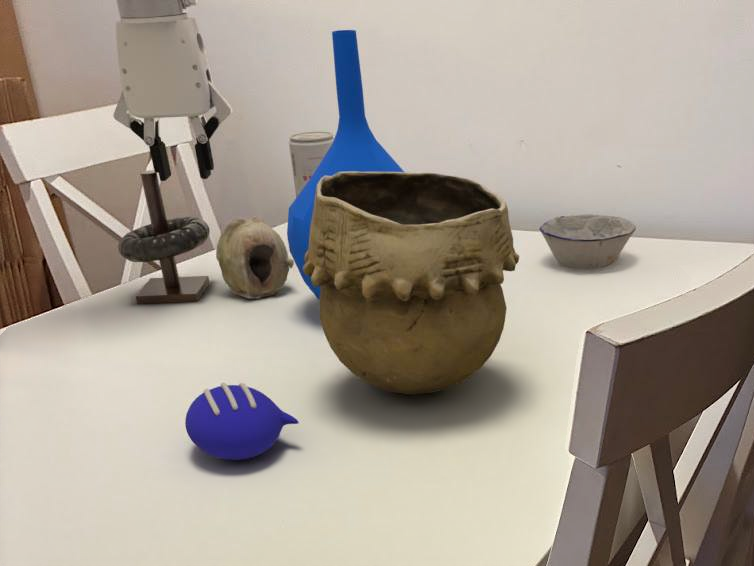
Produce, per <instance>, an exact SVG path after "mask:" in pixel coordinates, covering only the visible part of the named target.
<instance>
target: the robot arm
mask: <svg viewBox="0 0 754 566" xmlns="http://www.w3.org/2000/svg"><path fill="white" fill-rule="evenodd" d="M198 4H199V3H198V0H116V5H117V9H118V14H119V17H120V20H119V21H117V22H115V34H116V35H115V36H116V49H117V58H118V67H119V74H120V80H121V87H122V91H121V94H120V97H119V99H118V102H117V105H116V107H115V109H114V112H113V119H114V120H115V121H116V122H118V123H120V124H121V125H123V126H125V127H126V128H128V129H130V130H131V131H132V132H133V133H134V134H135V135H136V136H138V137H139V139H141V140H142V141H143V142H144V144H145V145H146V146H148V148H149V153H150V157H151V158H150V159H151V162H152V166H153V171H155V173H157V174H158V178H159V181H160V182H166V181H167V180H168V179H169V178H170V177H171V176H172V170H171V165H170V161H169V156H168V151H167V147H166V146H167V145H166V142H164V140H162V137H161V136H160V119H165V118H185V117H188V119H189V121H190V124H191V126H192V129H193V132H194V134H195V141H196V143H195V144H194V152H195V157H196V161H197V166H198V167H197V168H198V171H199V177H200V179H202V180H207V179H208V178H209V177H211V175H212V171H214V169H215V164H214V158H213V153H212V152H213V151H212V147H211V142H210V139H211V138H212V136H213V135H214V134H215V132H216V131H217V129H218V128H219V126H220V125H221V124H222V123H223V122H224V121H225V120H226V119H228V117H229V116H231V114H232V113H233V107H232V105H231V104H230V103H229V102H228V101H227V99H226V98H225V97H224V96H223V95H222V93H221V92H220V91H219V90H218V89H217V87H216V86H215V84H214V80H213V75H212V71H211V68H210V62H209V59H208V55H207V51H206V47H205V43H204V39H203V35H202V34H201V30H200V26H199V24H198V21H197V19H196V17H195V16H189V15H188V13H189V9H190V8H192V6H198ZM213 108H216V111H215V112H214V113H213V115H212V116H211V117H209V119H208V120H207V119H206V115H205V114H207V113H208V112H209V111H210V110H212V109H213ZM138 118H139V119H138ZM141 119H143V121H142V120H141Z"/></svg>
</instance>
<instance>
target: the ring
mask: <svg viewBox="0 0 754 566" xmlns="http://www.w3.org/2000/svg"><path fill="white" fill-rule="evenodd" d="M167 224H168V228H169V233H165V234H162V235H158V236H154V234H153V230H152V225H151V223H149V224H146V225H143V226H140V227H138V228H136V229H134V230H131V231H129V232H127V233H126V234H125V235H124V236H123V237H121V239H120V240H119V241H118V244H117V249H118V252H119V254H120V255H121V256H122V257H123V258H124V259H126V260H127V261H128V262H131V263H150V262H157V261H159V260H162V259H167V258H171V257H177V256H180V255H183V254H186V253H189V252H191V251H193V250H194V249H197V248H199V247H202V245H203V244H204V243H205V242H206V241H207V240H208V238H209V237H210V233H211V231H210V225H208V222H206V221H205V220H203V219H201V218H199V217H197V216H182V217H180V216H179V217H175V218H174V217H173V218H168V219H167Z"/></svg>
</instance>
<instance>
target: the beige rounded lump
mask: <svg viewBox="0 0 754 566" xmlns="http://www.w3.org/2000/svg"><path fill="white" fill-rule="evenodd" d="M215 257H216V260H217V262H218V265H219V268H220V271H221V276H222V279H223V281H224V283H225V284H226V285H227V286H228V287H229V289H230V290H231V292H232V293H233V294H235V295H237V296H241V297H243V298H246V299H255V300H256V299H257V300H260V299H262V298H265V297H269V296H274V295H276V294H277V291H278V290H280V289H281V288H282V287H283V286H284V285H285V284H286V282H287V280H288V275H289V272H290V269H292V268H293V267H294V265H295V261H294V259H293V258H290V257H289V254H288V250H287V246H286V244H285V242H284V240H283V238H282V237H281V235H280V234H279V233H278V232H277V231H276V230H275V229H273V228H272V227H270V226H269V225H267V224H266V223H264V222H262V221H261V219H260V218H258V217H257V216H255V215H254V216H252V217H250V218H249V219H247V218H244V217H239V216H238V217H236V218H234V219H231V221H229V223H228V224H227V225H226V226H225V227H224V229H223V230H222V231H221V234H220V235H219V238H218V241H217V244H216V251H215Z"/></svg>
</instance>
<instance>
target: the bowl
mask: <svg viewBox="0 0 754 566" xmlns="http://www.w3.org/2000/svg"><path fill="white" fill-rule="evenodd" d="M636 227H637V226H636V224H635V223H634V222H632V221H631V220H629V219H626V218H622V217H619V216H614V215H599V214H593V213H589V214H587V213H586V214H578V215H577V214H576V215H566V216H564V215H561V216H555V217H554V218H552V219H550V220H548V221H546V222H544V223H543V224H541V225H540V227H539V231H540V232H541V234H542V236H543V238H544V240H545V242H546V244H547V245H548V247H549V249H550V251H551V253H552V255H553V256H554V258H555V260H556V261H557V263H558V264H559V265H560V266H563V267H566V268H570V269H576V270H577V269H579V270H590V269H591V270H592V269H599V268H605V267H609V266H611V265H613V264H614V263H615V262H616V260H617V259H618V257H619V256H620V254H621V252H622V251H623V249H624V248H625V246H626V244H627V243H628V241H629V240H630V238H631V237H632V236H633V234H634V232H635V231H636Z"/></svg>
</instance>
